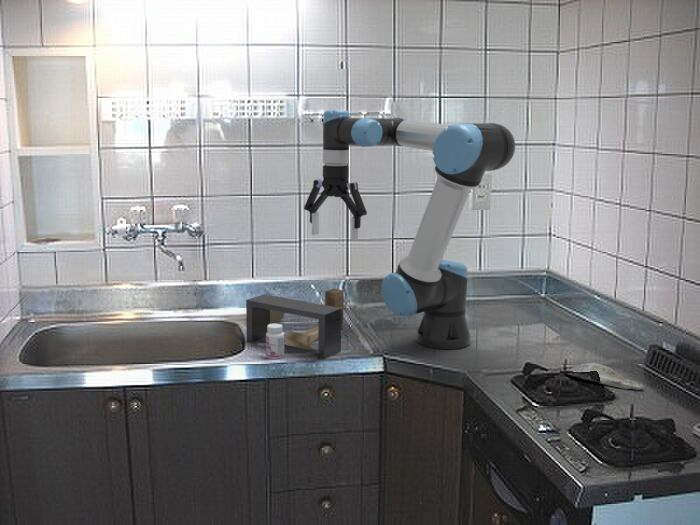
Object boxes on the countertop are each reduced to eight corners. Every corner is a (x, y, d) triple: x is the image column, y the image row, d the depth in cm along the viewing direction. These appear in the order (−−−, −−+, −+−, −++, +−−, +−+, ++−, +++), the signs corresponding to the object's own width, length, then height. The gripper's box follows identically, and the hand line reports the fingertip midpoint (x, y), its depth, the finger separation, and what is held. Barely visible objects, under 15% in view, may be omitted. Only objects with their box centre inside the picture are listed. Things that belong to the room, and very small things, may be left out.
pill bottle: (262, 356, 199) (262, 325, 197) (273, 352, 202) (273, 321, 201) (276, 360, 196) (276, 329, 194) (287, 355, 200) (287, 324, 198)
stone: (636, 405, 177) (649, 390, 185) (638, 391, 176) (652, 377, 184) (557, 379, 188) (573, 366, 196) (559, 366, 187) (575, 353, 195)
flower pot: (286, 327, 225) (286, 304, 223) (252, 326, 225) (252, 303, 223) (289, 318, 234) (289, 295, 233) (257, 317, 235) (257, 295, 233)
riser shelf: (341, 351, 204) (341, 308, 202) (324, 359, 197) (325, 314, 195) (264, 334, 217) (264, 294, 215) (246, 341, 211) (246, 299, 208)
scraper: (348, 330, 223) (348, 291, 220) (306, 349, 205) (307, 306, 203) (328, 326, 226) (328, 287, 224) (285, 344, 209) (286, 302, 206)
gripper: (379, 166, 216) (377, 239, 221) (307, 161, 229) (306, 230, 233) (366, 168, 210) (364, 243, 214) (292, 162, 222) (292, 234, 227)
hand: (334, 236), depth 224 cm, fingers open, 13 cm apart
